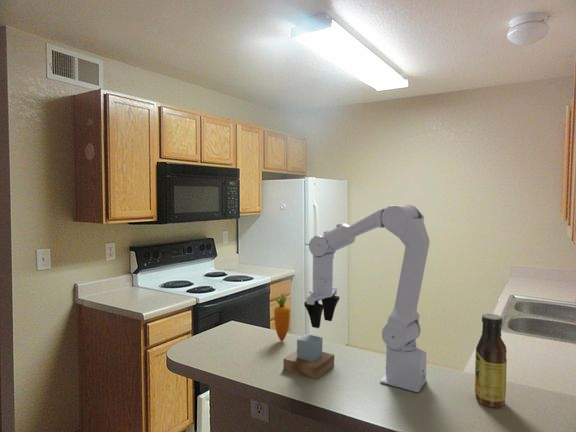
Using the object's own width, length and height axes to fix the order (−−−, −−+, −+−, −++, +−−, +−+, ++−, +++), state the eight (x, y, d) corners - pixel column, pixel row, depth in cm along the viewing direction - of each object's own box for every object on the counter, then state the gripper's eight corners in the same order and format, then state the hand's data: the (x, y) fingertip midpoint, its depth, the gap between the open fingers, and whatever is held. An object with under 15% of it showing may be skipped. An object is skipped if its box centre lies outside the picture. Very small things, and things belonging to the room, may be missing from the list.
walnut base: (334, 365, 110) (334, 354, 110) (316, 379, 101) (316, 367, 101) (302, 357, 115) (302, 346, 115) (283, 369, 107) (283, 358, 107)
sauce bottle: (478, 392, 95) (481, 309, 94) (508, 401, 91) (510, 314, 90) (470, 403, 90) (473, 316, 89) (501, 413, 86) (504, 321, 85)
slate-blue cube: (322, 355, 109) (322, 337, 109) (313, 362, 105) (313, 343, 104) (306, 351, 111) (306, 334, 111) (296, 357, 107) (297, 339, 107)
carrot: (283, 345, 124) (283, 297, 123) (270, 341, 127) (271, 295, 126) (292, 340, 128) (293, 294, 127) (280, 337, 131) (280, 292, 130)
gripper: (322, 271, 123) (321, 315, 124) (297, 279, 111) (297, 328, 112) (343, 274, 120) (342, 319, 120) (319, 282, 107) (319, 332, 108)
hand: (322, 323), depth 116 cm, fingers open, 7 cm apart
